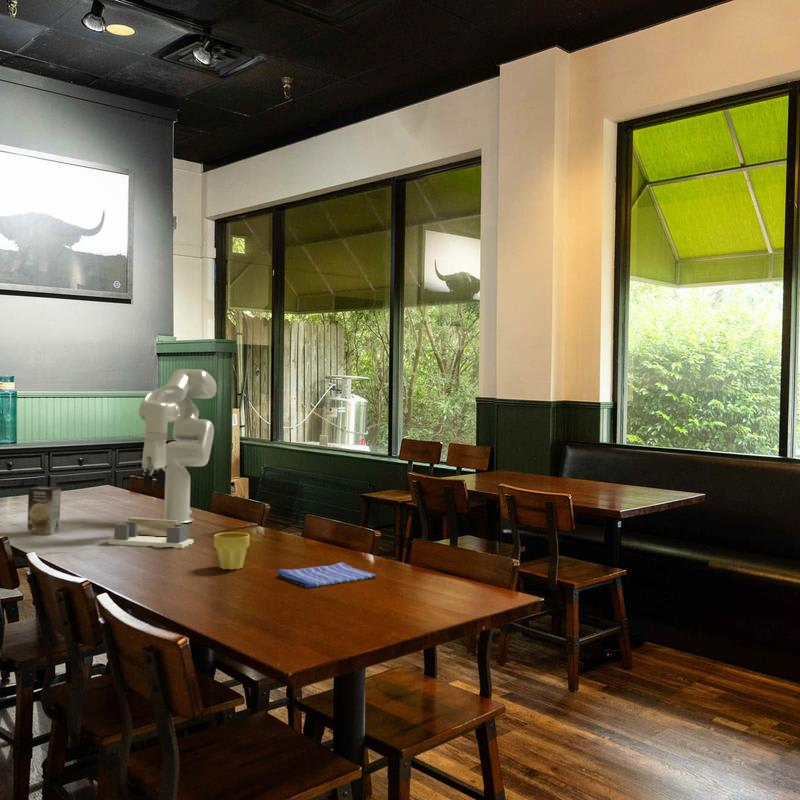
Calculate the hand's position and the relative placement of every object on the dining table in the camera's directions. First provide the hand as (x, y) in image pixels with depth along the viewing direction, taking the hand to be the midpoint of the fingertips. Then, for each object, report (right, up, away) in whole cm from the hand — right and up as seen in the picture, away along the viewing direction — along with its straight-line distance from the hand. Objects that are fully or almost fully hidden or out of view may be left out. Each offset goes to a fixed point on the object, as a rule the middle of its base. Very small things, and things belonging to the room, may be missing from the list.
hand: (154, 485), depth 285 cm
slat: (-1, -18, 0) cm, 18 cm away
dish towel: (+66, -21, -55) cm, 88 cm away
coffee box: (-39, -17, -1) cm, 43 cm away
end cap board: (+3, -18, -14) cm, 23 cm away
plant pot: (+37, -20, -46) cm, 62 cm away
